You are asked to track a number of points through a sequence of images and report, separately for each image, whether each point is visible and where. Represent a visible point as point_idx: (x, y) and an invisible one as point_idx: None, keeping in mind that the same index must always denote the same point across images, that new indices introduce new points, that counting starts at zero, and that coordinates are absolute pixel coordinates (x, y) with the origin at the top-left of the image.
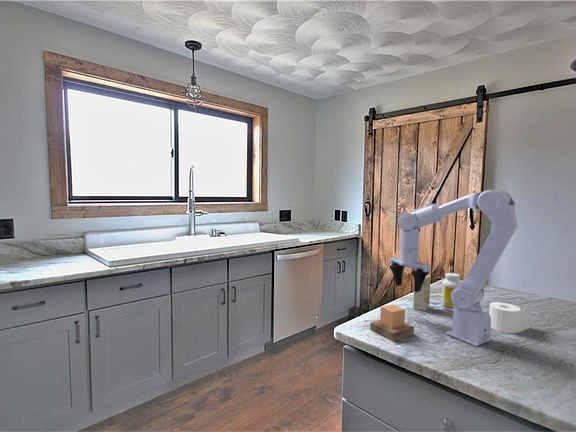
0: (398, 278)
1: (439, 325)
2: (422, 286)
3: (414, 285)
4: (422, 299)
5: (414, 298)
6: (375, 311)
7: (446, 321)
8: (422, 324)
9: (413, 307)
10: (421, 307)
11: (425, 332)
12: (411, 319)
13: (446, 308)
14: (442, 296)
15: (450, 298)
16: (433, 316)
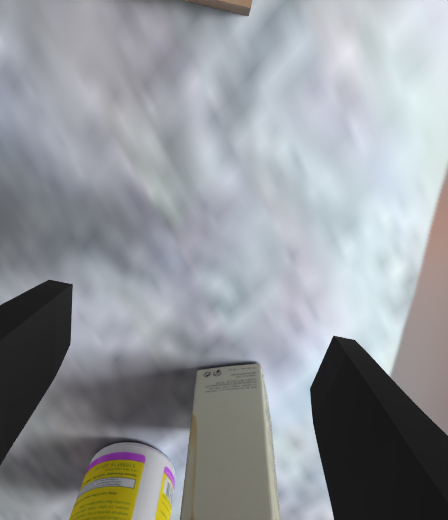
0: (356, 432)
1: (39, 249)
2: (204, 512)
3: (22, 318)
4: (207, 421)
5: (257, 414)
6: (437, 169)
7: None
8: (103, 191)
9: (258, 368)
10: (214, 380)
11: (13, 78)
12: (189, 217)
13: (132, 447)
14: (150, 510)
15: (98, 504)
16: (132, 339)
